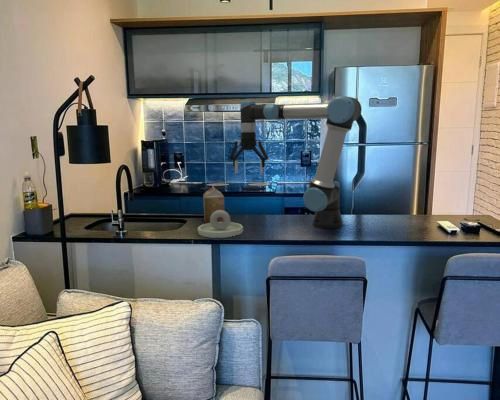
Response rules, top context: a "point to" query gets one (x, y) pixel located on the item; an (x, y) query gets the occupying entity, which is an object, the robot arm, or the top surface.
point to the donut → (224, 215)
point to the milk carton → (212, 204)
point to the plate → (211, 232)
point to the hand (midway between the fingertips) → (249, 173)
